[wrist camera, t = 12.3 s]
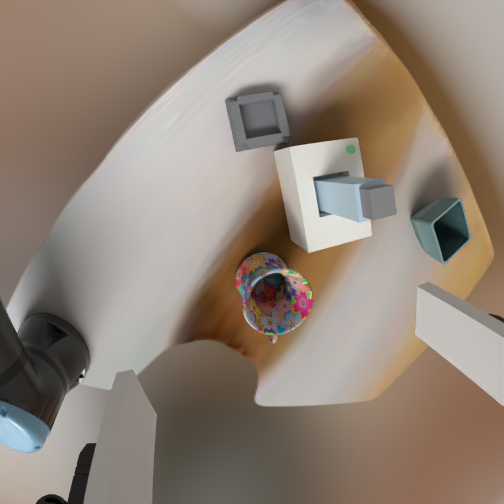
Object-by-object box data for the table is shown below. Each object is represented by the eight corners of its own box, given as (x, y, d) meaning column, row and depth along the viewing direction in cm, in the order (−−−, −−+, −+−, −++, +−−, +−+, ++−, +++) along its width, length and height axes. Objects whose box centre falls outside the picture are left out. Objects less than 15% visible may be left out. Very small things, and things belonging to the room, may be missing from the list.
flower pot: (413, 253, 53) (443, 266, 45) (399, 214, 50) (431, 223, 42) (441, 229, 53) (471, 238, 45) (428, 191, 51) (460, 196, 42)
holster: (236, 151, 43) (238, 150, 41) (225, 101, 41) (226, 97, 38) (287, 142, 44) (292, 140, 41) (276, 93, 42) (281, 89, 39)
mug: (231, 249, 46) (241, 271, 36) (290, 246, 48) (315, 266, 38) (233, 320, 49) (243, 355, 39) (288, 315, 51) (309, 347, 41)
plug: (313, 208, 42) (369, 226, 28) (308, 180, 41) (364, 185, 27) (338, 202, 43) (400, 218, 29) (333, 175, 42) (396, 179, 27)
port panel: (290, 240, 48) (309, 253, 40) (273, 151, 44) (290, 146, 36) (347, 225, 49) (374, 235, 41) (333, 141, 45) (360, 137, 37)
